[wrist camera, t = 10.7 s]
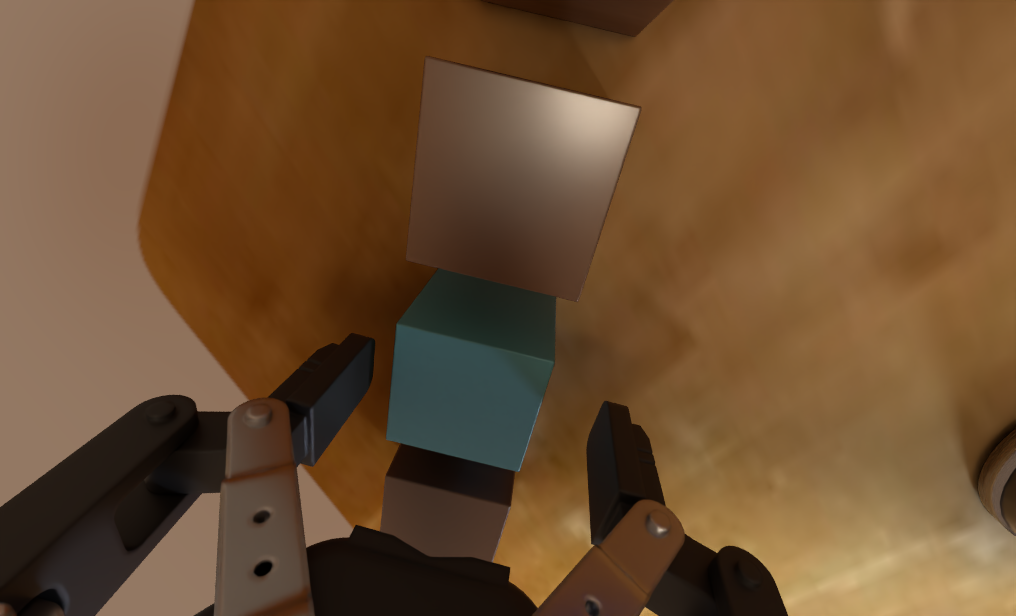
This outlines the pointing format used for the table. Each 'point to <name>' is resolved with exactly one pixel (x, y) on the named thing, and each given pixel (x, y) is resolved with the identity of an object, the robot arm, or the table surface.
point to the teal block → (471, 369)
